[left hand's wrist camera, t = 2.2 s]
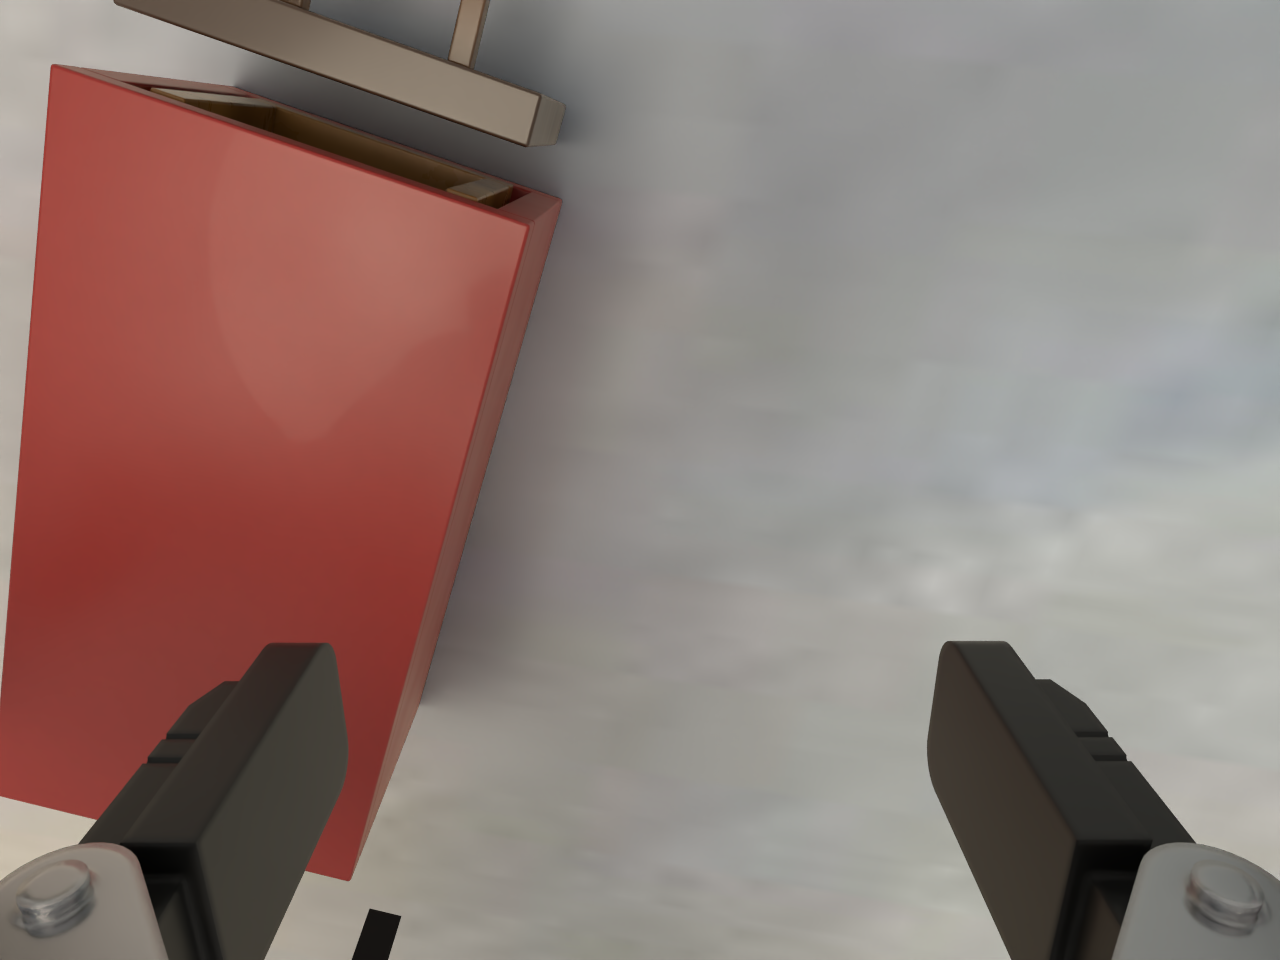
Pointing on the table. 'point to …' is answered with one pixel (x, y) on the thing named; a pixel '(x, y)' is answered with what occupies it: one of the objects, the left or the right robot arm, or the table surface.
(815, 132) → the table surface
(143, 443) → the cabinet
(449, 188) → the drawer
